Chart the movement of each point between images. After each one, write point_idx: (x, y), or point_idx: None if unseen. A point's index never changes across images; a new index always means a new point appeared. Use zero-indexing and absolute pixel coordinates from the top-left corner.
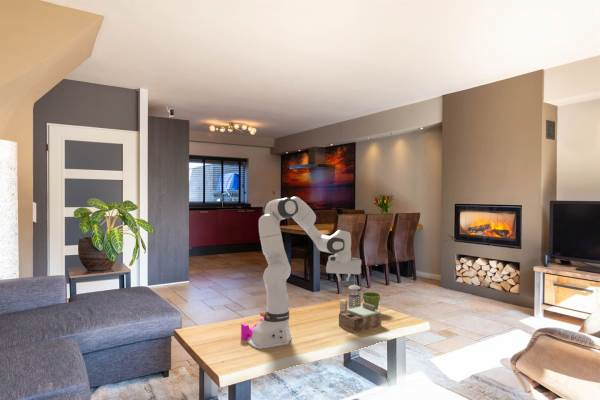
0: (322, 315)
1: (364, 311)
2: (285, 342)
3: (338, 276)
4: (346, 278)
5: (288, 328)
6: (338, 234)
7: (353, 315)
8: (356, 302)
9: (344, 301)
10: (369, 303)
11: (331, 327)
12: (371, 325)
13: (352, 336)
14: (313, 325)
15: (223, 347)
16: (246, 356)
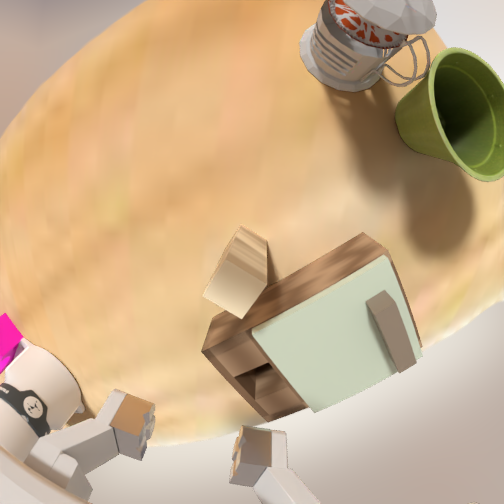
0: (142, 159)
1: (345, 366)
2: (78, 412)
3: (94, 464)
4: (240, 481)
5: (63, 415)
6: None
7: (277, 372)
8: (365, 68)
9: (237, 314)
10: (437, 153)
11: (179, 329)
12: None
13: None
14: (109, 299)
15: (4, 380)
16: None
